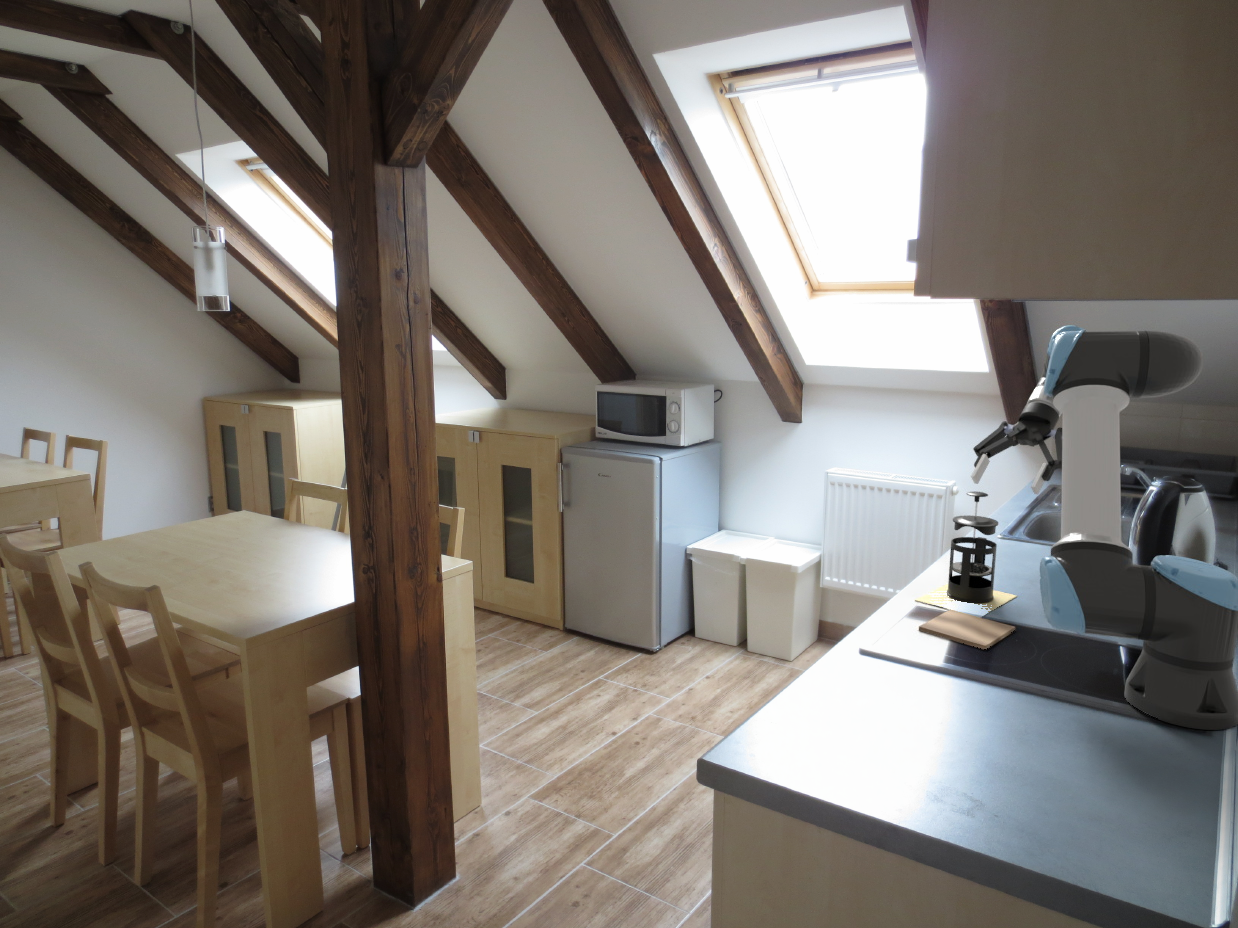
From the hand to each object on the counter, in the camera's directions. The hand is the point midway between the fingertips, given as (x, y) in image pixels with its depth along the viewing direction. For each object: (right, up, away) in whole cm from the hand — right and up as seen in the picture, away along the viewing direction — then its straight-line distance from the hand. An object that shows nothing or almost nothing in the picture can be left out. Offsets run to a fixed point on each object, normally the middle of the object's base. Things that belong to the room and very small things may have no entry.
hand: (1003, 485), depth 181 cm
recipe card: (-10, -24, -4) cm, 26 cm away
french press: (-8, -24, -3) cm, 25 cm away
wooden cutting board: (-17, -28, -21) cm, 39 cm away
